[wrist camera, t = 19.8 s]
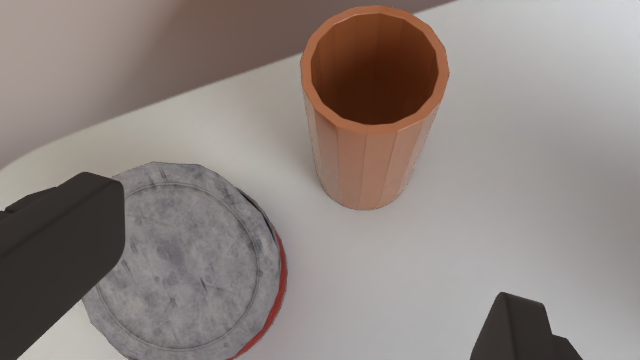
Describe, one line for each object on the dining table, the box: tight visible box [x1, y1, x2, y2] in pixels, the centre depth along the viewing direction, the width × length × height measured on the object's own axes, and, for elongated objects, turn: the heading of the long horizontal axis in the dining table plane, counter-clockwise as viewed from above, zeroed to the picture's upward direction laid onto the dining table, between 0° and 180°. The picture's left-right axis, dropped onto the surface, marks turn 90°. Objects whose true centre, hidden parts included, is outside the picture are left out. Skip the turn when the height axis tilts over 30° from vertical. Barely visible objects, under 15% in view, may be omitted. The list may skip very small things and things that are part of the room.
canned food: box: [81, 162, 287, 360], centre depth 24 cm, size 11×10×10 cm
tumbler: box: [300, 5, 449, 210], centre depth 23 cm, size 6×6×11 cm
